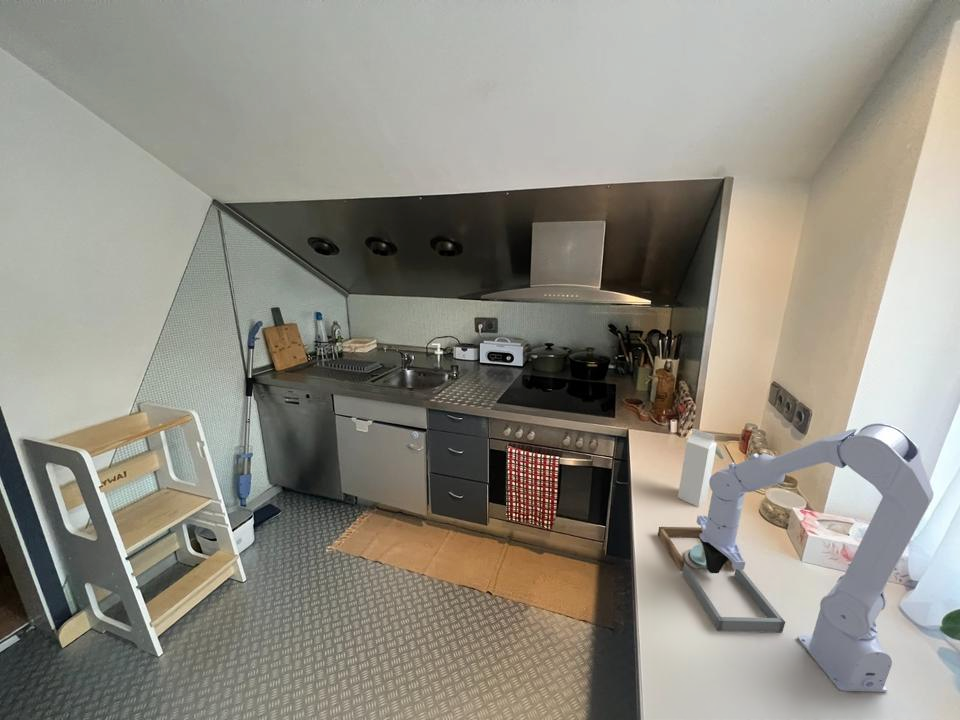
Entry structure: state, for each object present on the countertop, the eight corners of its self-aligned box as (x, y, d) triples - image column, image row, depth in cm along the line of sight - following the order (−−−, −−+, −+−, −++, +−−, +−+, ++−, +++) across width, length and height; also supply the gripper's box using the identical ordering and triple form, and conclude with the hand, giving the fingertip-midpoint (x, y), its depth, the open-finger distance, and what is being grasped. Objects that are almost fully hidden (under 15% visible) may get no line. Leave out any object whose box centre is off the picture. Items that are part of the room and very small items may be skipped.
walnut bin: (734, 571, 89) (736, 562, 89) (679, 570, 89) (681, 561, 89) (706, 535, 101) (707, 527, 100) (657, 534, 101) (659, 526, 100)
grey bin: (782, 632, 75) (785, 621, 74) (717, 630, 75) (719, 620, 74) (737, 575, 88) (739, 566, 87) (682, 574, 88) (683, 565, 88)
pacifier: (683, 567, 90) (713, 577, 87) (686, 544, 89) (716, 553, 86) (684, 547, 97) (712, 556, 94) (687, 526, 95) (715, 533, 92)
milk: (698, 507, 112) (710, 439, 106) (677, 497, 117) (688, 431, 111) (706, 499, 116) (719, 432, 110) (686, 490, 120) (696, 425, 114)
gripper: (687, 498, 91) (679, 547, 94) (724, 543, 77) (713, 598, 80) (717, 499, 90) (708, 547, 94) (760, 543, 76) (747, 598, 80)
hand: (712, 571), depth 87 cm, fingers closed
